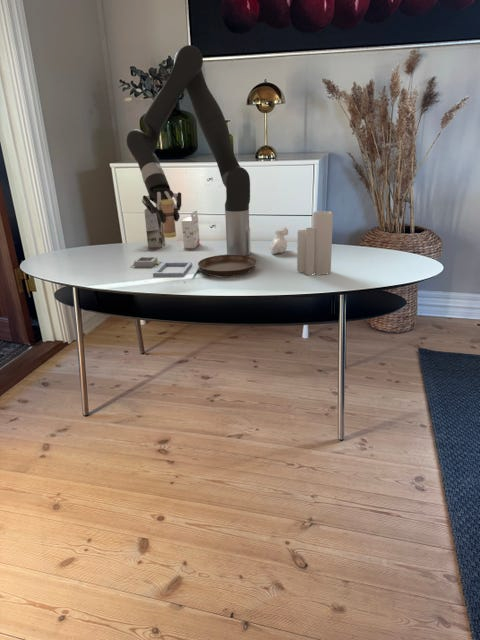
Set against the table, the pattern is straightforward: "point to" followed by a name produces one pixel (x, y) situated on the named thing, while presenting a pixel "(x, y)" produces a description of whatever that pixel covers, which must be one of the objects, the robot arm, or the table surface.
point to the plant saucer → (227, 265)
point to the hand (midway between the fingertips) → (170, 220)
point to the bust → (279, 241)
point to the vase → (316, 245)
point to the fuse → (168, 218)
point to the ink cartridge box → (190, 231)
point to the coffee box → (154, 230)
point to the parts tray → (172, 274)
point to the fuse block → (146, 262)
